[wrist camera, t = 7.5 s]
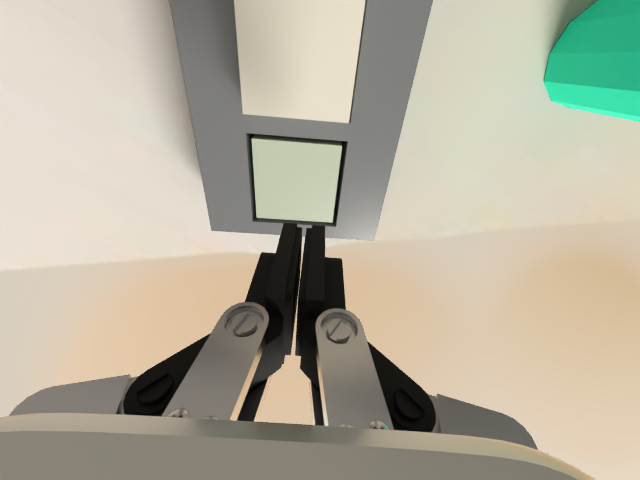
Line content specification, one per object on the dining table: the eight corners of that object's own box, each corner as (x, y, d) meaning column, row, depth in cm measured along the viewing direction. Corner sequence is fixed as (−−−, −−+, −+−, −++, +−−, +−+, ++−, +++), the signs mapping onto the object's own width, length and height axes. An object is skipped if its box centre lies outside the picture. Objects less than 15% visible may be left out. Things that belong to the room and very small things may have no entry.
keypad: (465, -266, 11) (533, -412, 7) (365, 214, 23) (374, 240, 20) (156, -321, 10) (76, -508, 7) (226, 205, 22) (211, 230, 19)
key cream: (358, -7, 13) (368, -23, 10) (343, 112, 16) (348, 123, 14) (248, -19, 13) (231, -39, 10) (254, 104, 16) (242, 113, 13)
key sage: (338, 133, 18) (342, 145, 16) (330, 202, 22) (332, 222, 19) (260, 126, 18) (251, 138, 16) (263, 197, 21) (256, 217, 19)
